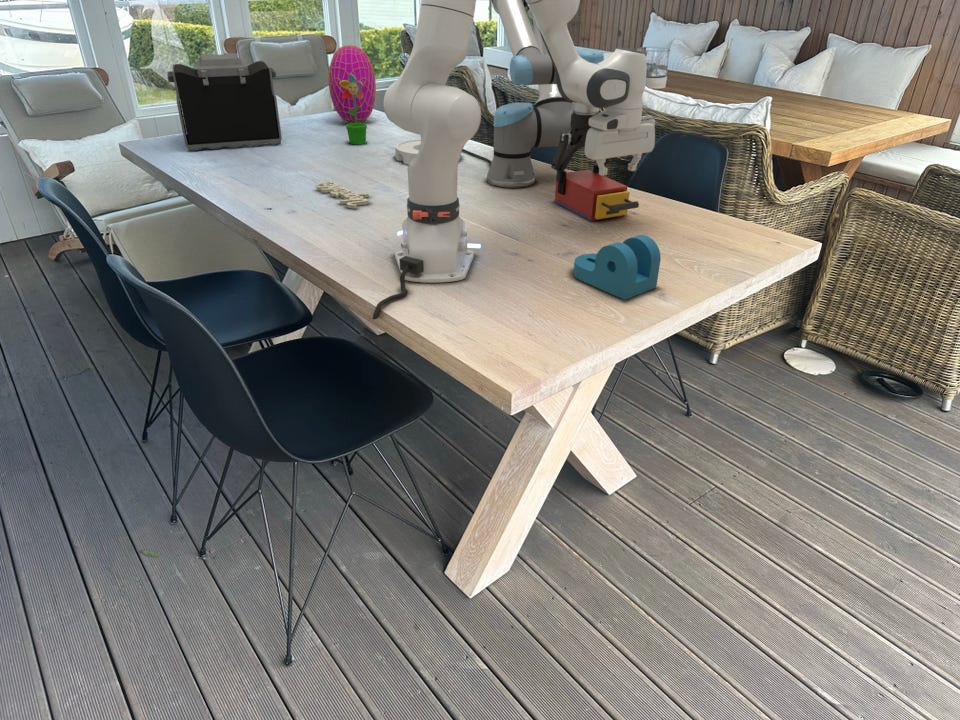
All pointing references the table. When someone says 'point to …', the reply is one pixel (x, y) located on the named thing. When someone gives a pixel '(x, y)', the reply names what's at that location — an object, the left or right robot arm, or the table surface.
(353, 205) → the decorative sign
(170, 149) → the table surface
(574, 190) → the red case
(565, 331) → the table surface
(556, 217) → the table surface
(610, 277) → the camera mount
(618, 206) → the drawer
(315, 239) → the table surface
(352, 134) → the potted flower
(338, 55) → the decorative egg
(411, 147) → the ashtray
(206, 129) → the electronic device
